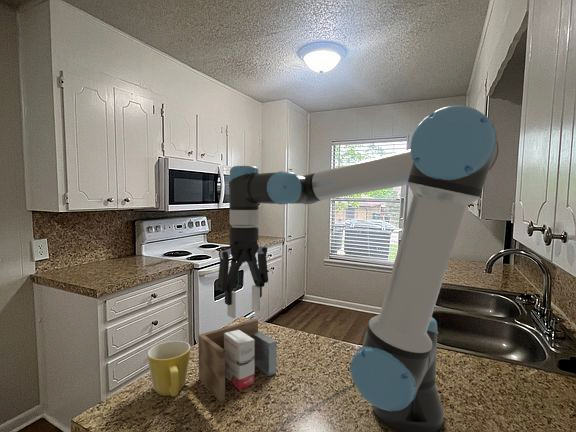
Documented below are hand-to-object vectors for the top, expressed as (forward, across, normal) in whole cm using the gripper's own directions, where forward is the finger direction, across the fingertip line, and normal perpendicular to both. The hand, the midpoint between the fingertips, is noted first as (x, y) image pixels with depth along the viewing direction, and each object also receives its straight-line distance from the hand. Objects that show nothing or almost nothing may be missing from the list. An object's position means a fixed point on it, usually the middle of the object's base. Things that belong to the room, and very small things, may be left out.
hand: (244, 312), depth 84 cm
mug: (+19, +17, -8) cm, 26 cm away
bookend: (+18, -7, 0) cm, 19 cm away
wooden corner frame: (+19, +1, -1) cm, 19 cm away
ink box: (+18, +1, 0) cm, 18 cm away
